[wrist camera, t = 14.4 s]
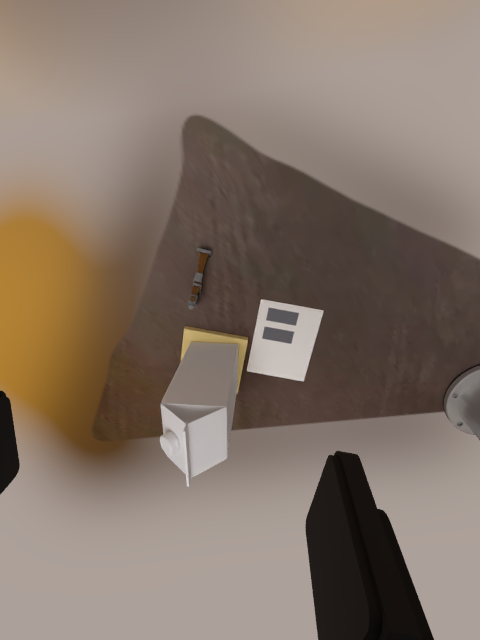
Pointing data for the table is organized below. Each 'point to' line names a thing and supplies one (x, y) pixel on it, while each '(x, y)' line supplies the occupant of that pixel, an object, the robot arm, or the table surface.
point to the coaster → (215, 337)
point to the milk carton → (200, 407)
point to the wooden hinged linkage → (198, 277)
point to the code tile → (283, 339)
